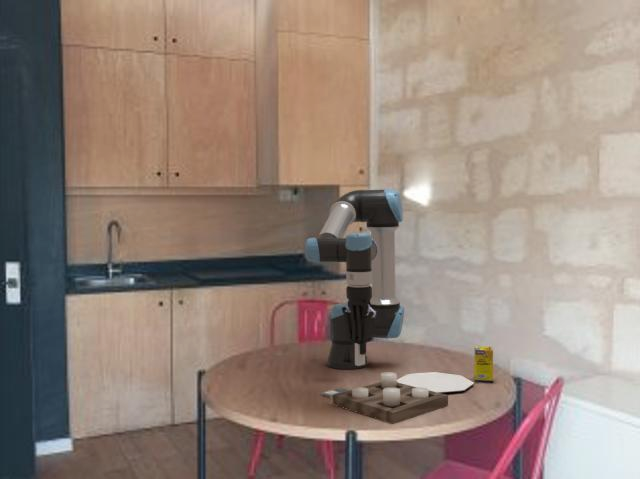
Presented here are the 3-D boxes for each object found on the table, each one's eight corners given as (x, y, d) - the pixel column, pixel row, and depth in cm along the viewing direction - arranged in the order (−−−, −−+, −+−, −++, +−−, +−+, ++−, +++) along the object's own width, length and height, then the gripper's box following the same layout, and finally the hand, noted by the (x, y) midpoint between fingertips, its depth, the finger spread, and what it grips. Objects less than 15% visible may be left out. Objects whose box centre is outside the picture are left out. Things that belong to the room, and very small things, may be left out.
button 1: (348, 402, 199) (348, 389, 199) (360, 399, 202) (360, 386, 202) (360, 406, 195) (360, 392, 195) (371, 402, 199) (371, 389, 198)
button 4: (408, 402, 198) (408, 389, 198) (419, 399, 201) (419, 386, 201) (421, 406, 194) (421, 392, 194) (431, 403, 198) (431, 389, 197)
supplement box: (493, 383, 221) (493, 350, 221) (474, 382, 222) (474, 349, 222) (492, 378, 227) (492, 346, 226) (474, 377, 228) (474, 346, 228)
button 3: (379, 403, 190) (379, 389, 189) (391, 400, 193) (390, 386, 193) (392, 407, 186) (392, 393, 186) (403, 403, 189) (403, 389, 189)
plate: (455, 400, 204) (455, 395, 204) (386, 389, 216) (385, 385, 216) (481, 382, 224) (481, 377, 224) (416, 373, 236) (416, 369, 236)
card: (320, 394, 210) (320, 392, 210) (341, 389, 216) (341, 386, 216) (340, 400, 203) (340, 398, 203) (361, 394, 209) (361, 392, 209)
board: (332, 404, 199) (332, 394, 199) (387, 389, 215) (387, 380, 215) (393, 423, 181) (393, 412, 181) (448, 405, 197) (448, 395, 197)
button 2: (377, 386, 207) (377, 374, 207) (388, 384, 210) (388, 371, 210) (389, 389, 204) (389, 376, 203) (399, 386, 207) (399, 374, 207)
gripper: (334, 284, 199) (335, 363, 201) (366, 288, 190) (366, 370, 191) (352, 282, 204) (353, 358, 206) (384, 286, 195) (384, 366, 196)
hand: (360, 364), depth 198 cm, fingers closed
